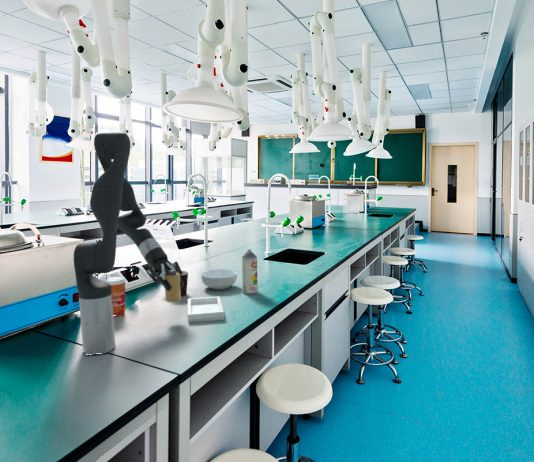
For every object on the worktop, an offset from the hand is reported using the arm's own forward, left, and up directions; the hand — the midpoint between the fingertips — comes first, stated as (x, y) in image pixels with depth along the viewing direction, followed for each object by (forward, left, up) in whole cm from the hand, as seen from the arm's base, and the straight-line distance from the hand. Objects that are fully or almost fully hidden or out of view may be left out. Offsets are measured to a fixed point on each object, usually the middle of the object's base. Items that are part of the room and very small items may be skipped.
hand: (176, 287), depth 146 cm
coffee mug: (+34, +1, -13) cm, 37 cm away
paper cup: (+12, +23, -13) cm, 29 cm away
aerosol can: (+29, -32, -13) cm, 45 cm away
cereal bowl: (+41, -19, -13) cm, 47 cm away
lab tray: (+6, -10, -12) cm, 17 cm away
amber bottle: (+1, +1, -5) cm, 5 cm away
